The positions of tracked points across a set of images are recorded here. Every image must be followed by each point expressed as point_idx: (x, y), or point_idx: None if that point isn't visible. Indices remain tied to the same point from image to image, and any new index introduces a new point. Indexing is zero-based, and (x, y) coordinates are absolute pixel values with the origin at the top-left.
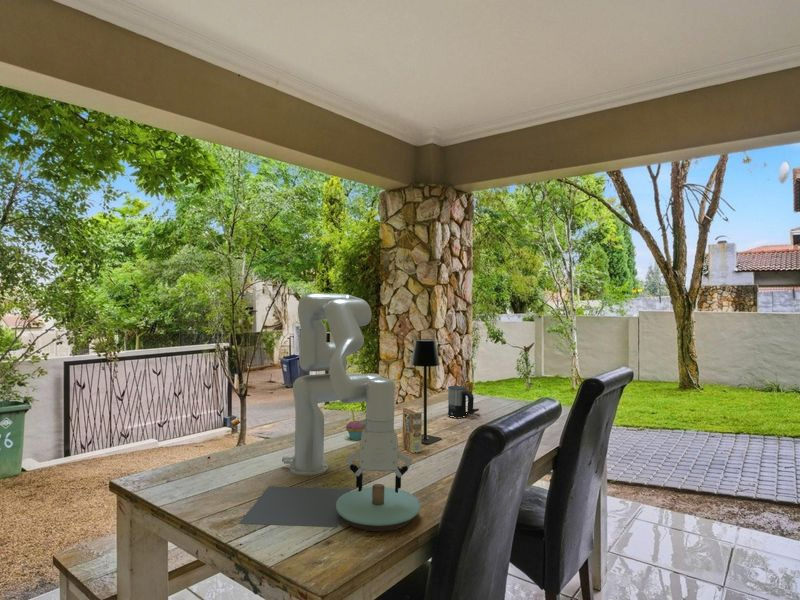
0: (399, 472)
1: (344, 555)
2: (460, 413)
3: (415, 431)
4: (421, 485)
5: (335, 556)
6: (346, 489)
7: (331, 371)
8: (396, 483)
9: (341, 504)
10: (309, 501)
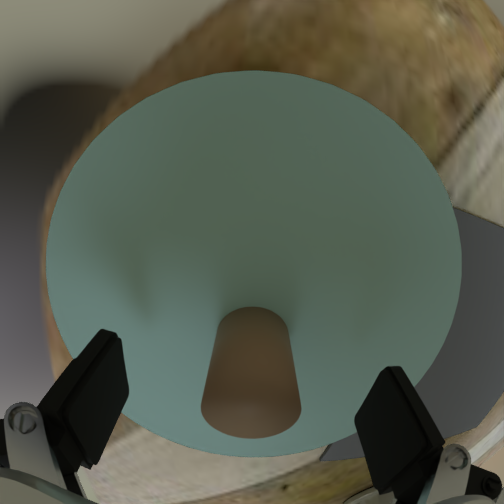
0: (11, 440)
1: (393, 5)
2: None
3: None
4: (120, 452)
5: (418, 11)
6: (334, 457)
7: None
8: (76, 374)
9: (436, 318)
10: (451, 388)
